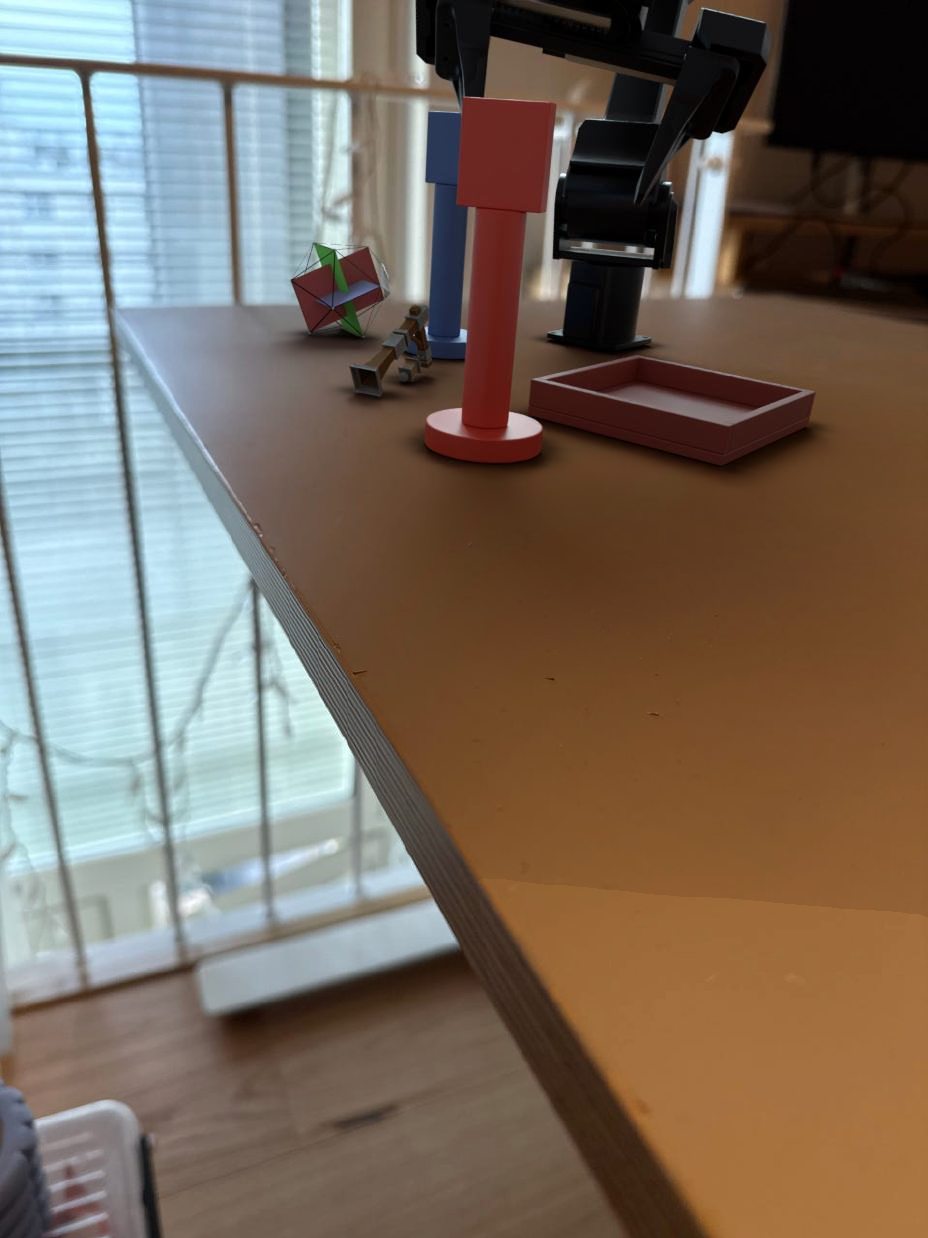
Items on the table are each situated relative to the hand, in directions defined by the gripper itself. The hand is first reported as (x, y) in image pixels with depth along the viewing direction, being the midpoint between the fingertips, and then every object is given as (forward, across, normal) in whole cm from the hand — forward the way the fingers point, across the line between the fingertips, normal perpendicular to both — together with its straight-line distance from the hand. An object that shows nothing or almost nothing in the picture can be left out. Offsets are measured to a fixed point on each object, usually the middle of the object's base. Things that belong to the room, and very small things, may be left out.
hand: (554, 180), depth 49 cm
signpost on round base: (+15, 0, +1) cm, 15 cm away
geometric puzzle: (+1, -14, +24) cm, 28 cm away
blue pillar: (+2, -5, +20) cm, 21 cm away
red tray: (+9, +10, +7) cm, 15 cm away
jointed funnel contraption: (+9, -7, +11) cm, 16 cm away
